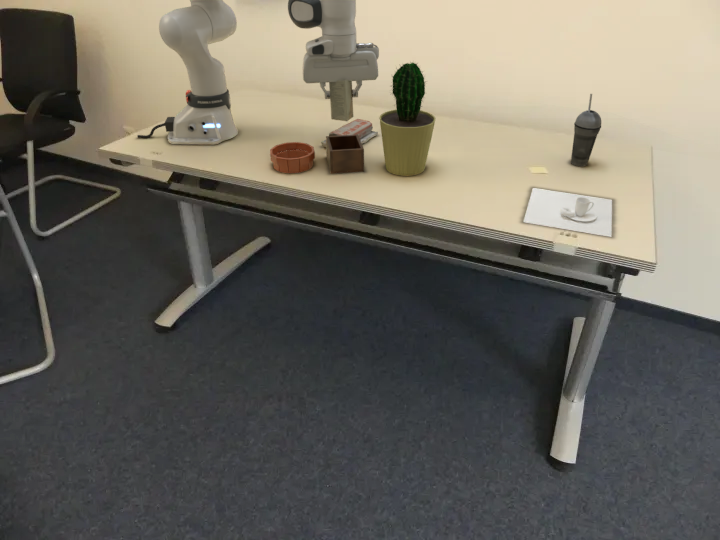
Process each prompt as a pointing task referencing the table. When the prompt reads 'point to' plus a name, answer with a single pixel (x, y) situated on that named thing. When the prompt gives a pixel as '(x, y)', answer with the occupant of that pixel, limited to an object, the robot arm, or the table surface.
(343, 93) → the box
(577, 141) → the beverage cup
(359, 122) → the packaged product
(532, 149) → the table surface
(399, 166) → the potted cactus
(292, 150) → the bowl
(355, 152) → the holder
